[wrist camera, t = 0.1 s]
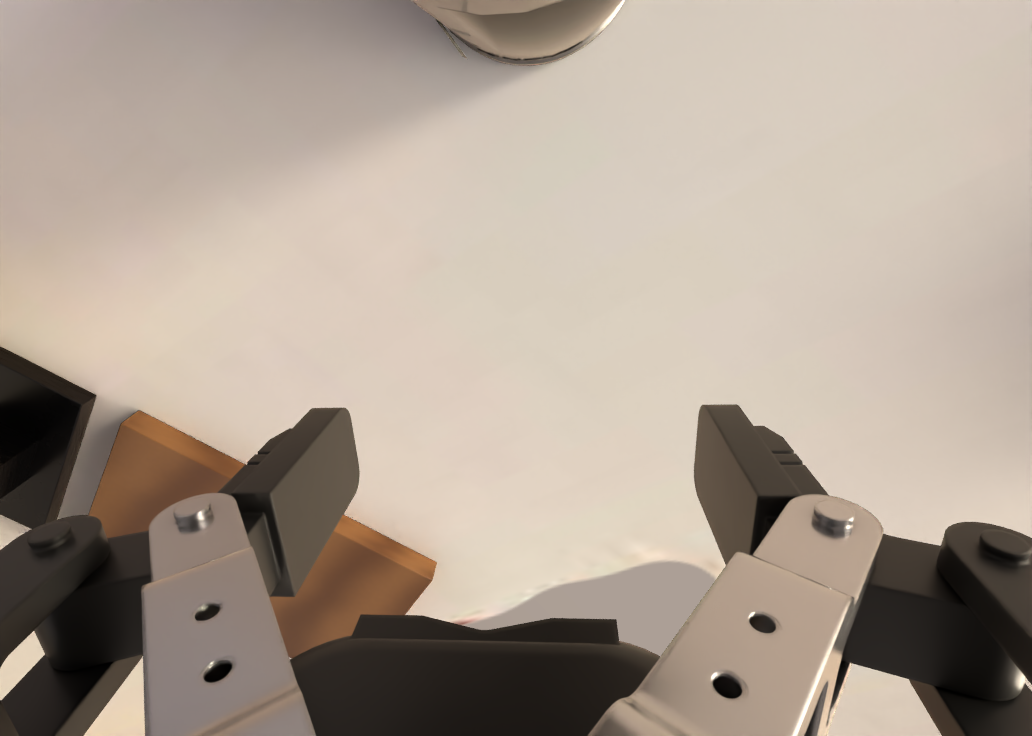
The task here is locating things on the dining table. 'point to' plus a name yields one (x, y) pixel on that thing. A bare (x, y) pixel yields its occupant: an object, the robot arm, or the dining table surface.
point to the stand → (37, 438)
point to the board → (202, 469)
